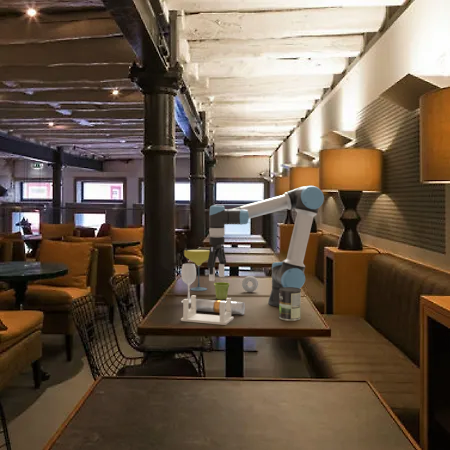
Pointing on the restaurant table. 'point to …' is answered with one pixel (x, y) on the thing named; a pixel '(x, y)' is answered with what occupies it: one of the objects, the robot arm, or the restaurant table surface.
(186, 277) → the wineglass
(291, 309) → the coffee can
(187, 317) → the collar stand
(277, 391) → the restaurant table surface
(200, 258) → the cocktail glass
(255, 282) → the donut
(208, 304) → the air tube
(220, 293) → the plant pot
